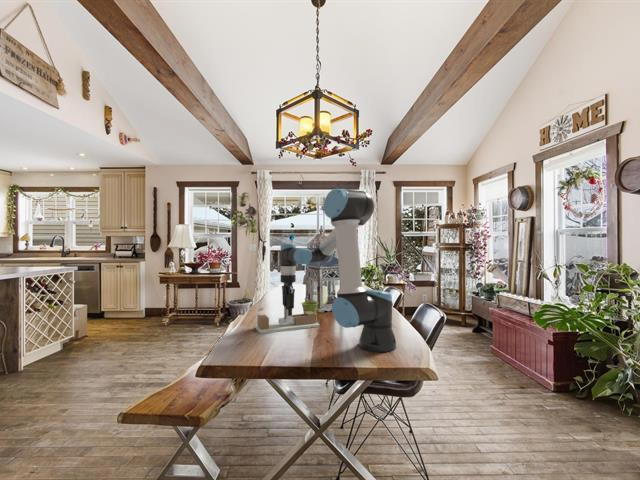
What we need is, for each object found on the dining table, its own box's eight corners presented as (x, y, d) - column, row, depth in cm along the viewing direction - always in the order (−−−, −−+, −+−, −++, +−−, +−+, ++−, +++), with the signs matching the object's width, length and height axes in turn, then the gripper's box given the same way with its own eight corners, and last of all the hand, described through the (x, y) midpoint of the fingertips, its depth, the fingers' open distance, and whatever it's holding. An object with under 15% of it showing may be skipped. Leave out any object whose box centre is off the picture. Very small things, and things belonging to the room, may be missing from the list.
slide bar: (312, 322, 174) (312, 304, 174) (280, 325, 167) (280, 307, 167) (310, 320, 177) (310, 303, 177) (278, 324, 170) (278, 306, 170)
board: (319, 326, 171) (319, 314, 171) (260, 333, 159) (260, 319, 159) (310, 321, 182) (310, 309, 182) (254, 327, 170) (254, 314, 170)
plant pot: (298, 317, 190) (298, 302, 190) (314, 316, 194) (314, 300, 194) (305, 321, 182) (305, 305, 182) (321, 319, 186) (321, 303, 186)
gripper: (300, 275, 164) (300, 324, 165) (290, 272, 179) (290, 316, 179) (285, 276, 161) (285, 325, 162) (276, 273, 176) (276, 318, 176)
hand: (288, 321), depth 170 cm, fingers closed on slide bar, 3 cm apart
